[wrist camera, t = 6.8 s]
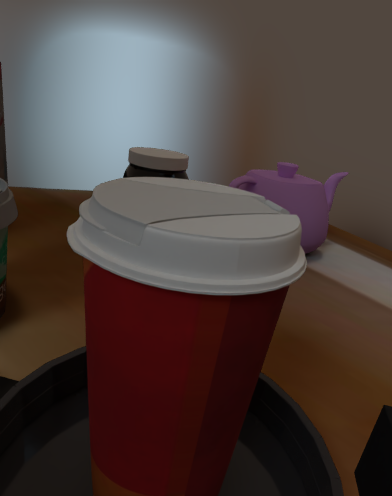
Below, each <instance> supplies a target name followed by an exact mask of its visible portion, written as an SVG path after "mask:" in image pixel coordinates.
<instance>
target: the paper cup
mask: <svg viewBox="0 0 392 496" xmlns="http://www.w3.org/2000/svg"><path fill="white" fill-rule="evenodd" d="M264 198H265V197H264V196H261V195H258V194H255V193H251V192H248V191H244V190H241V189H237V188H233V187H228V186H223V185H218V184H213V183H208V182H201V181H195V180H187V179H177V178H163V177H130V178H121V179H116V180H112V181H108V182H105V183H101V184H100V185H98V186H96V187H95V188H94V190H93V195H92V197H91V198H90V199H88V200H86V201H84V202H82V203H81V204H80V207H79V214H80V217H79V219H78V220H77V221H76V222H75V223H74V224H72V225H71V226H69V227H68V231H67V239H68V243H69V245H70V246H71V248H72V249H73V251H74V252H76V253H77V254H79V255H81V256H83V269H84V296H85V323H86V350H87V377H88V403H89V428H90V450H91V471H92V486H93V496H218V494H219V492H220V489H221V486H222V483H223V480H224V478H225V475H226V472H227V469H228V466H229V463H230V460H231V457H232V454H233V452H234V449H235V446H236V443H237V440H238V437H239V434H240V431H241V428H242V425H243V422H244V419H245V416H246V413H247V410H248V407H249V404H250V401H251V398H252V395H253V392H254V389H255V386H256V383H257V381H258V378H259V375H260V372H261V369H262V366H263V363H264V360H265V357H266V354H267V351H268V348H269V345H270V342H271V339H272V336H273V333H274V330H275V327H276V324H277V321H278V318H279V315H280V312H281V309H282V306H283V303H284V300H285V297H286V294H287V291H288V288H289V285H290V284H292V283H294V282H295V281H297V280H298V279H299V278H300V277H301V276H302V275H303V274H304V272H305V269H306V266H307V261H306V257H305V252H304V250H303V249H302V247H301V245H300V243H301V233H302V227H301V222H300V219H299V217H298V216H297V215H289V214H290V212H289V211H287V210H286V209H284V208H282V207H281V206H279V205H277V204H275V203H273V202H272V201H270V200H266V199H264Z"/></svg>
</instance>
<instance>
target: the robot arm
mask: <svg viewBox="0 0 392 496" xmlns="http://www.w3.org/2000/svg"><path fill="white" fill-rule="evenodd" d="M354 473H355V478H356V482H357V487H358V491H359V496H392V407H391V406H387V405H384V406H383V408H382V410H381V413H380V415H379V417H378V420H377V422H376V424H375V426H374V429H373V431H372V433H371V435H370V438H369V440H368V442H367V445H366V447H365V449H364V451H363V454H362V456H361V458H360V460H359V463H358V465H357V467H356V470H355V472H354Z"/></svg>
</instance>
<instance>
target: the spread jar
mask: <svg viewBox="0 0 392 496" xmlns="http://www.w3.org/2000/svg"><path fill="white" fill-rule="evenodd" d="M188 159H189V157H188V156H187V155H185V154H182V153H178V152H174V151H169V150H163V149H156V148H144V147H141V148H140V147H135V148H130V149H129V159H128V160H129V163H130V164H129V166H128V167H127V169H126V171H125V173H124V176H123V178H130V177H163V178H177V179H187V180H189V179H188V176H187V174H186V169H187V167H188Z"/></svg>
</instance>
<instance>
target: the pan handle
mask: <svg viewBox="0 0 392 496" xmlns="http://www.w3.org/2000/svg"><path fill="white" fill-rule="evenodd" d="M18 382H19V381H15V380H12V379H8V378H5V377H1V376H0V399H1V398H2V397H3V396H4V395H5V394H6V393H7V392H8V391H9V390H10V389H11V388H12V387H13V386H14V387H16V386H15V384H17V383H18Z"/></svg>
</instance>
